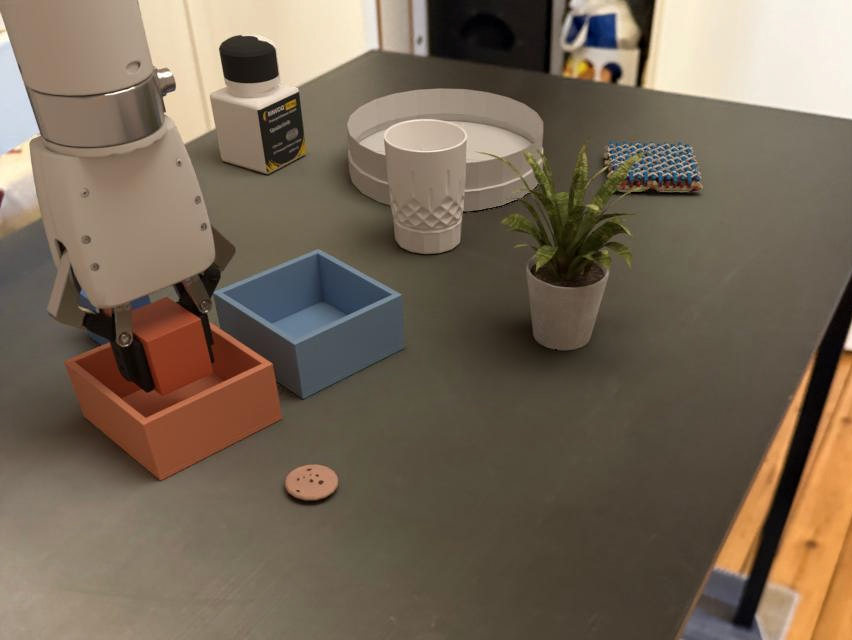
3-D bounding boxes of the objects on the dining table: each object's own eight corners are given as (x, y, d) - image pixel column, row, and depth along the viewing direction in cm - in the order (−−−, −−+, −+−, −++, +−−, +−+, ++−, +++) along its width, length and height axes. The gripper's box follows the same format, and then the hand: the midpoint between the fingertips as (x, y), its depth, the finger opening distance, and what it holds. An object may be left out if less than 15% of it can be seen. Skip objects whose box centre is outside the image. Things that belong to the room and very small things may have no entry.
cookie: (302, 511, 66) (300, 500, 65) (275, 481, 68) (273, 470, 67) (349, 490, 67) (347, 480, 67) (321, 462, 69) (320, 452, 69)
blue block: (88, 335, 81) (71, 287, 78) (133, 317, 83) (119, 269, 80) (114, 355, 79) (99, 307, 76) (160, 336, 81) (147, 288, 78)
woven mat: (690, 158, 108) (693, 139, 107) (702, 197, 101) (706, 178, 100) (601, 156, 108) (603, 137, 107) (608, 195, 101) (610, 176, 100)
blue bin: (223, 346, 80) (212, 292, 76) (324, 301, 86) (318, 248, 82) (303, 399, 75) (294, 344, 71) (405, 348, 80) (402, 294, 77)
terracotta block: (130, 372, 70) (113, 318, 67) (181, 350, 72) (166, 296, 69) (162, 396, 68) (146, 341, 65) (213, 373, 70) (200, 318, 67)
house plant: (456, 372, 78) (454, 172, 66) (479, 291, 87) (481, 102, 75) (624, 388, 77) (655, 187, 64) (630, 304, 86) (658, 114, 74)
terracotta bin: (83, 416, 73) (63, 360, 69) (203, 362, 78) (190, 308, 75) (160, 481, 68) (142, 424, 64) (282, 418, 73) (273, 363, 70)
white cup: (378, 250, 92) (370, 144, 85) (405, 217, 97) (400, 114, 90) (452, 263, 91) (451, 156, 83) (476, 228, 96) (477, 124, 88)
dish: (527, 222, 97) (530, 173, 93) (325, 203, 99) (319, 154, 95) (554, 141, 111) (557, 95, 107) (376, 126, 113) (373, 81, 110)
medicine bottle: (268, 176, 104) (249, 55, 94) (220, 161, 106) (197, 42, 97) (308, 154, 108) (294, 36, 99) (261, 141, 110) (243, 25, 101)
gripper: (183, 61, 62) (235, 312, 76) (-64, 127, 54) (44, 394, 68) (248, 90, 59) (290, 348, 72) (-5, 165, 51) (96, 439, 64)
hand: (170, 368), depth 70 cm, fingers closed on terracotta block, 4 cm apart
